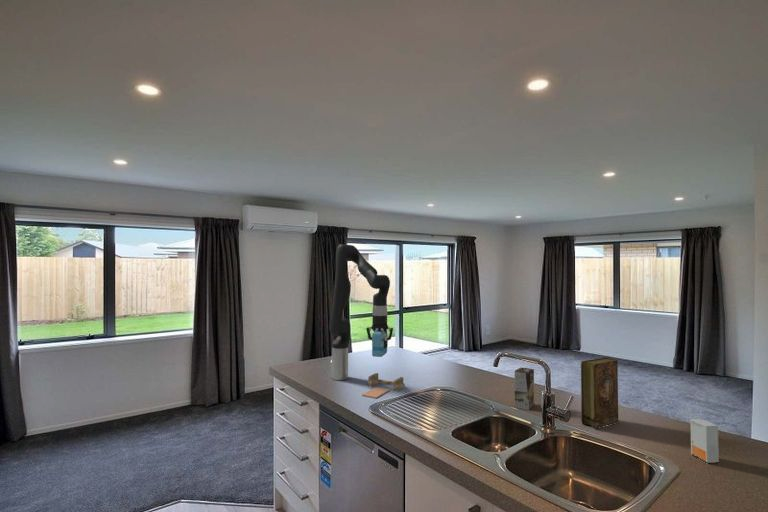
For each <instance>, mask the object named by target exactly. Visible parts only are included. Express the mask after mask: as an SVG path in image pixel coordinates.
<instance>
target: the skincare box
mask: <svg viewBox="0 0 768 512" xmlns="http://www.w3.org/2000/svg"><path fill="white" fill-rule="evenodd" d="M689 423H690V455H691V454H694V455H695V456H698V457H699V458H701V459H703V460H705V461H706V462H719V463H720V460H719V459H720V458H719V425H717V424H715V423H712V422H710V421H707V420H705V419H703V418H691V419H690V422H689Z"/></svg>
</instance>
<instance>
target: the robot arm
mask: <svg viewBox="0 0 768 512" xmlns="http://www.w3.org/2000/svg"><path fill="white" fill-rule="evenodd" d="M346 262H352V263H354V264H356V266H357V271H358V272H359V273H360V275H362V276H363V277H364V278H365V279H366V281H367V282H368V284H369V286H370V287H371V288H373V289H375V290H377V289H378V292H376V293H374V294H373V297H372V311H371V315H372V317H371V318H372V321H371V322H372V323H371V324H372V325H371V326H368V327H366V329H365V330H366V334H367V339H368V340H370V341H372V335H371V331H372V332H375V331H382V332H384V333H383V337H384V339H385V348H386V347H387V348H388V344H389V341H391V339H392V335H393V331H394V328H393V327H392V326H389V324H388V305H387V304H388V299H387V298H388V294H389V290H390V286H391V281H390V278H389V276H388V275H385V274H378V270H377V269H376V268H375V267H374V266H373V265H372V264H370V263H369V262H368V261H367V260H366V259H365V257H364V256H363V255H362V253H361V252H360V250H358V249H357V247H356V246H354V245H352V244H342V243H341V244H338V246H337V247H336V251H335V275H334V276H335V279H334V287H333V299H332V307H331V314H330V320H329V325H328V327H329V328H328V329H329V332H330V335H331V336H333V337H336V338H335V339H334V340H333V341H332V342H331V360H330V363H329V364H330V365H329V369H330V370H329V378H330V379H331V380H335V381H344V380H347V379H349V344H350V340H351V323H350V321H349V320H348V319H347V318H345V317H343V312H344V309H345V308H346V306H347V304H348V302H349V300H350V297H351V289H352V284H351V281H350V278H349V276H348V274H347V270H346ZM386 331H387V332H389V334H388V335H387V336H386V333H385V332H386Z"/></svg>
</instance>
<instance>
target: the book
mask: <svg viewBox="0 0 768 512" xmlns="http://www.w3.org/2000/svg"><path fill="white" fill-rule="evenodd" d="M618 367H619V366H618V359H615V358H611V357H599V358H593V359H587V360H581V362H580V391H581V392H580V397H581V398H580V400H581V401H580V402H581V403H580V404H581V409H580V410H581V413H580V414H581V424H582V425H585V424H587V426H589V425H590V427H591V426H592V427H591V428H593V427H594V428H593V429H595V430H597V429H596V428H599V427H603V426H606V425H610V424H613V425H615V424H614V423H616V424H618V423H619V384H618V383H619V382H618V380H619V378H618V377H619V374H618V371H619V370H618ZM617 422H618V423H617ZM610 426H611V425H610ZM606 427H607V426H606ZM603 428H604V427H603ZM599 429H600V428H599Z"/></svg>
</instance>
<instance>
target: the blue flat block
mask: <svg viewBox="0 0 768 512" xmlns="http://www.w3.org/2000/svg"><path fill="white" fill-rule="evenodd" d="M383 333H384V332H382V331H375V332H374V331H372V335H371V337H372V340H371V354H372V357H375V358H381V357H383V356H385V355H386V354H387V352H388V346H387V347H386V348H385V339H384V337H383ZM385 333H386V336H387V337H388V330H387V331H386V332H385Z"/></svg>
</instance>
